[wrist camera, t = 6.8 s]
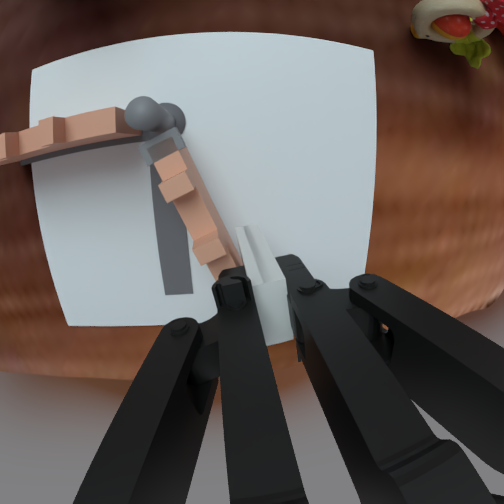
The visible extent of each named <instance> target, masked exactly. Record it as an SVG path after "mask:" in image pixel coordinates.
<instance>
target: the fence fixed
mask: <svg viewBox="0 0 504 504" xmlns="http://www.w3.org/2000/svg"><path fill="white" fill-rule="evenodd" d="M175 124H176V121H175V118H174V116H173V115H172V114H171V113H170V112H168V111H167V110H166V109H165V108H163V107H162V106H161V105H160V104H158V103H157V102H156V101H154V100H153V99H152V98H150V97H147V96H140V97H136V98H134V99H133V100H132V101H130V103H129V104H128V105H127V107H126V109H125V110H124V109H121V108H118V107H109V108H104V109H99V110H95V111H90V112H86V113H81V114H77V115H73V116H69V117H65V118H64V117H55V116H52V117H49V118H45V119H42V120H39V125H38V126H35V127H32V128H29V129H26V130H23V131H20V132H8V133H3V134H0V165H3V164H8V163H12V162H17V161H21V160H24V159H27V158H31V157H34V156H38V155H42V154H46V153H50V152H54V151H58V150H62V149H66V148H71V147H76V146H80V145H85V144H90V143H96V142H101V141H107V140H113V139H119V138H126V137H133V136H140V135H142V131H148V132H153V133H158V134H162V133H164V132H166V131H167V130H169V129H171V128H173V127H175Z"/></svg>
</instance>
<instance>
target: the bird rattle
mask: <svg viewBox="0 0 504 504" xmlns="http://www.w3.org/2000/svg"><path fill="white" fill-rule="evenodd" d="M411 21H412V24H411V27H410V28H411V32H412V34H413V36H414V37H415V38H419V39H430V40H434V41H439V42H448V43H451V44H450V46H449V47H450V50H451V51H452V52H453V53H454V54H456V55H463V56H465V57H466V59H467V61H468V63H469V65H470V66H472V67H474V68H477V69H478V68H479V67H480V65H481V60H482V58H485V57H487V56H489V55H490V53H491V48H490V46H489V45H488V44H487V43H486V42H485V41H484V40H483V39H481V38H484V37H486V36H487V35H489V34H490V33H491V32H492V31H493V30H494V28H495V27H496V26H497V21H498V22H500V23H502V24H503V25H504V0H485V1H484V0H422V1H421V2H419V3H418V4H417V5H416V6H415V7H414V9H413V11H412V14H411Z"/></svg>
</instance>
